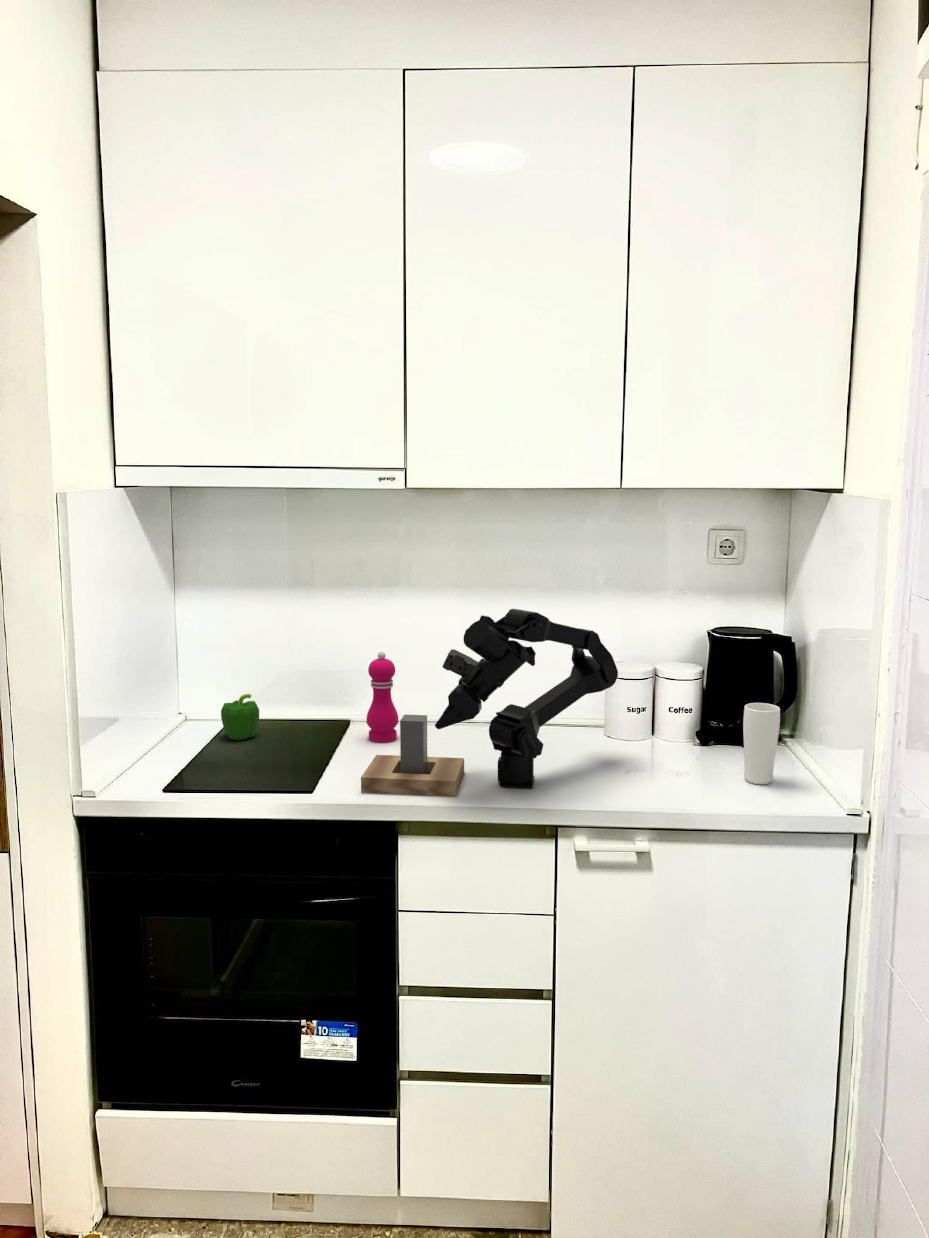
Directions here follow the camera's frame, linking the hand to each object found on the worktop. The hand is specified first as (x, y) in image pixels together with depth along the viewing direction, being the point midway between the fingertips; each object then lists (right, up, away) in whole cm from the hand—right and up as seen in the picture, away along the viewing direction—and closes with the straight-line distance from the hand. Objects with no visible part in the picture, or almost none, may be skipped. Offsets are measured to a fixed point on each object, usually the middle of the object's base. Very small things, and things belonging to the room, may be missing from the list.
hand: (440, 721), depth 187 cm
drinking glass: (+62, -12, +3) cm, 64 cm away
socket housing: (-5, -12, +2) cm, 13 cm away
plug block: (-5, -12, +2) cm, 13 cm away
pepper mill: (-14, -7, +31) cm, 35 cm away
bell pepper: (-46, -7, +32) cm, 56 cm away
